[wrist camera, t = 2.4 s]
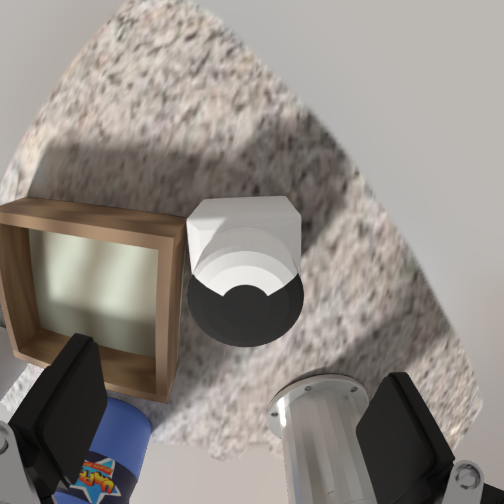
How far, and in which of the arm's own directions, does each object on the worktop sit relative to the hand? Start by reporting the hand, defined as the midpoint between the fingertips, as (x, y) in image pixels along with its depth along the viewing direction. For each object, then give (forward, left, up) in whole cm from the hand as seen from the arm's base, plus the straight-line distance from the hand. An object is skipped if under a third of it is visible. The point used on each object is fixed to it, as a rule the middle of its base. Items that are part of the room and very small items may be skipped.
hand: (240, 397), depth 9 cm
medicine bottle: (0, 0, -19) cm, 19 cm away
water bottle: (+13, +28, -19) cm, 36 cm away
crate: (+14, +7, -18) cm, 24 cm away
